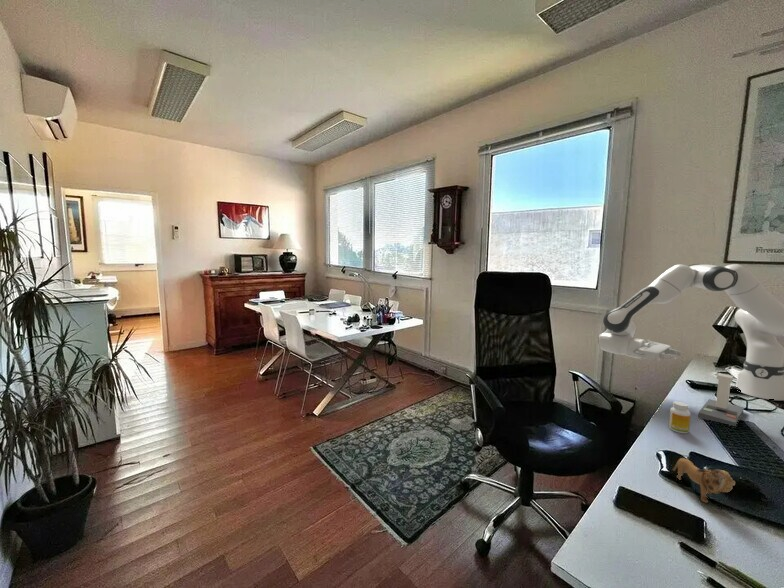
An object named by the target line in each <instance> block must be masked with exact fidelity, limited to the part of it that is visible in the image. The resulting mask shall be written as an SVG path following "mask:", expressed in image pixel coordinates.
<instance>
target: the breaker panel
mask: <svg viewBox="0 0 784 588" xmlns="http://www.w3.org/2000/svg"><path fill="white" fill-rule="evenodd" d="M744 410H745V407H743V406H739V405H734V404H731V403H728V409H727V411H724V410H720V409H716V400H715V399H711V398H709V399H708V400H707V401H706V402H705V403H704V405H703V406H702V407H701V409H700V410H699V411H698V412H697V418H698V419H702V420H706V421H709V420H711V421H710V422H712V421H716V422H721V423H725V424H729V425H733V426H736V427H737V425H738V423H739V421H740V419H741V418H742V415H743V414H744ZM738 420H739V421H738ZM716 422H715V423H716ZM737 422H738V423H737ZM736 424H737V425H736Z"/></svg>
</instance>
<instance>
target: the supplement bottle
mask: <svg viewBox="0 0 784 588" xmlns="http://www.w3.org/2000/svg"><path fill="white" fill-rule="evenodd" d="M668 419H669V420H668V428H669V430H671V431H673V432H675V433H679V434H688V433H689V432H690V421H691V412H690V411H689V404H687V403H685V402H683V401H678V400H676V401H673V406H672V407H670V410H669V418H668Z"/></svg>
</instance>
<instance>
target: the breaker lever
mask: <svg viewBox="0 0 784 588" xmlns="http://www.w3.org/2000/svg"><path fill="white" fill-rule="evenodd" d="M716 380H718V381H717V382H718V383H717V390H716V400H715V401H716V409H720V410H724V411H727V409H728V404H729V400H730V391H731V388H730V387H731V385H732V384H731V383H732V382H733V381H734V375H730V374H725V373H720V372H719V373H717V374H716Z"/></svg>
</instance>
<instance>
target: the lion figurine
mask: <svg viewBox="0 0 784 588" xmlns="http://www.w3.org/2000/svg"><path fill="white" fill-rule="evenodd" d="M671 470H673V471H674V472H675V471H676V470H677V473H678V475H676V479H677V478H678V479H679V480H681V479H682V478H681V476H683V475H684V474H687V476H688V477H689V479H690V480H691V481H693V482H694V483H695V484H698V485H699V487H700V500H701V501H702V502H704V503H709V500H708V499H707V498H708V497H707V496H706V494H707V493H708V494H711V495H712V493H713V494H717V495H718V494H720V493H729V492H730V491H732V490H733V487H734V486H735V485H736V481H735V480H734V479H733V477H731V475H730V473H729V472H728V471H726V470H724V469H723V470H722V469H706V468H702V469H700V468H698V467H697V466H696V465H694V463H693V462H692V461H691V460H689V459H687V458H684V457H680V458H678V460H677V461H676V464H674V467H673V468H672V469H671Z"/></svg>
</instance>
